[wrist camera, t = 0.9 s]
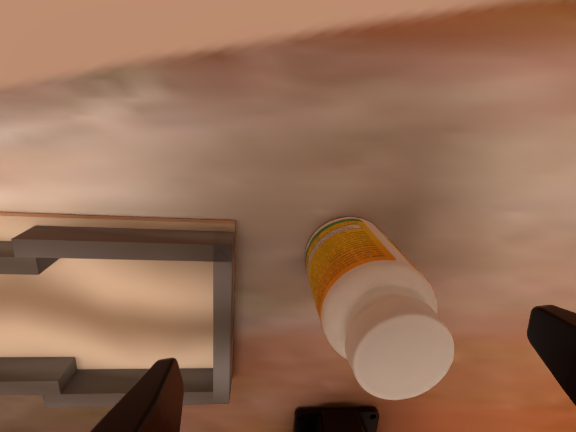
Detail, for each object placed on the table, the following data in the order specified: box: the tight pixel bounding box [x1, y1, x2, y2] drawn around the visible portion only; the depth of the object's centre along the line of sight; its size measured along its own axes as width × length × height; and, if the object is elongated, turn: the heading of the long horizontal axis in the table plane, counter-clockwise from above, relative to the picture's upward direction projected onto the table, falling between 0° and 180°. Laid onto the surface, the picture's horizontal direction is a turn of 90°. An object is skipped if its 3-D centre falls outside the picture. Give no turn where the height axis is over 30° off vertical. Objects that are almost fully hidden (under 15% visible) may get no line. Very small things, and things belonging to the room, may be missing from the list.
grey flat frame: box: [0, 212, 235, 408], centre depth 20 cm, size 12×22×3 cm, turn 86°
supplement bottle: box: [305, 217, 454, 400], centre depth 17 cm, size 5×5×10 cm
